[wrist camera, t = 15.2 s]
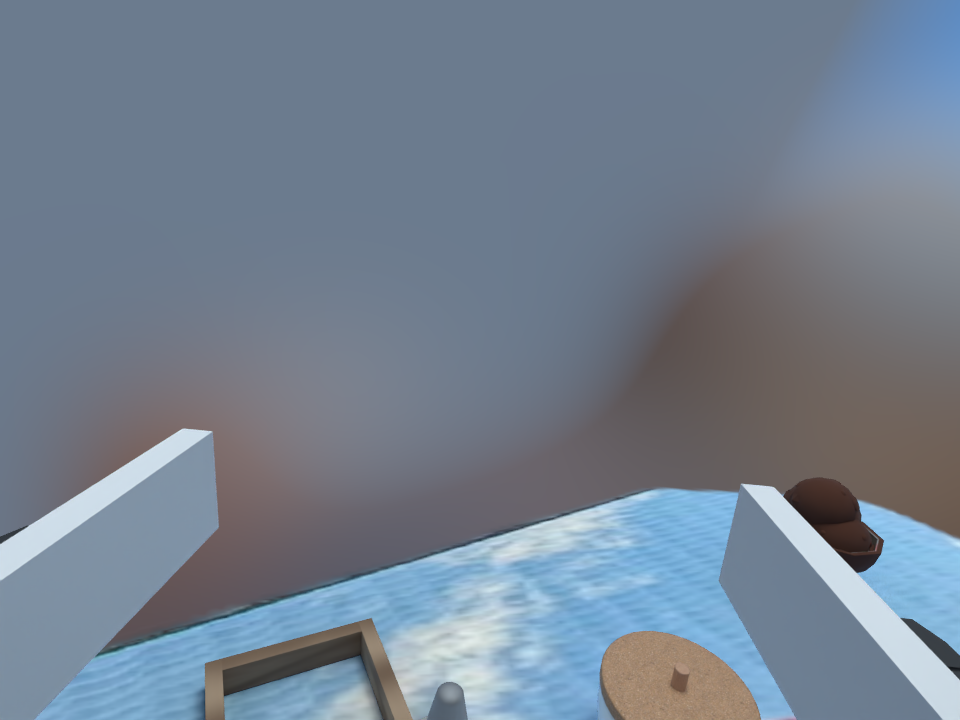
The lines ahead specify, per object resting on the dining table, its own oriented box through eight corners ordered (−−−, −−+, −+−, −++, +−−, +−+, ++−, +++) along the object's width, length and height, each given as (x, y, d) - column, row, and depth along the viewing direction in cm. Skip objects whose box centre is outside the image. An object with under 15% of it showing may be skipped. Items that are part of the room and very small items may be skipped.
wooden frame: (423, 779, 37) (425, 751, 36) (208, 873, 30) (206, 842, 30) (370, 640, 48) (371, 618, 47) (206, 688, 42) (205, 663, 41)
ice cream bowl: (872, 647, 53) (918, 517, 49) (752, 608, 57) (785, 485, 53) (847, 586, 63) (883, 473, 59) (745, 556, 67) (773, 449, 63)
